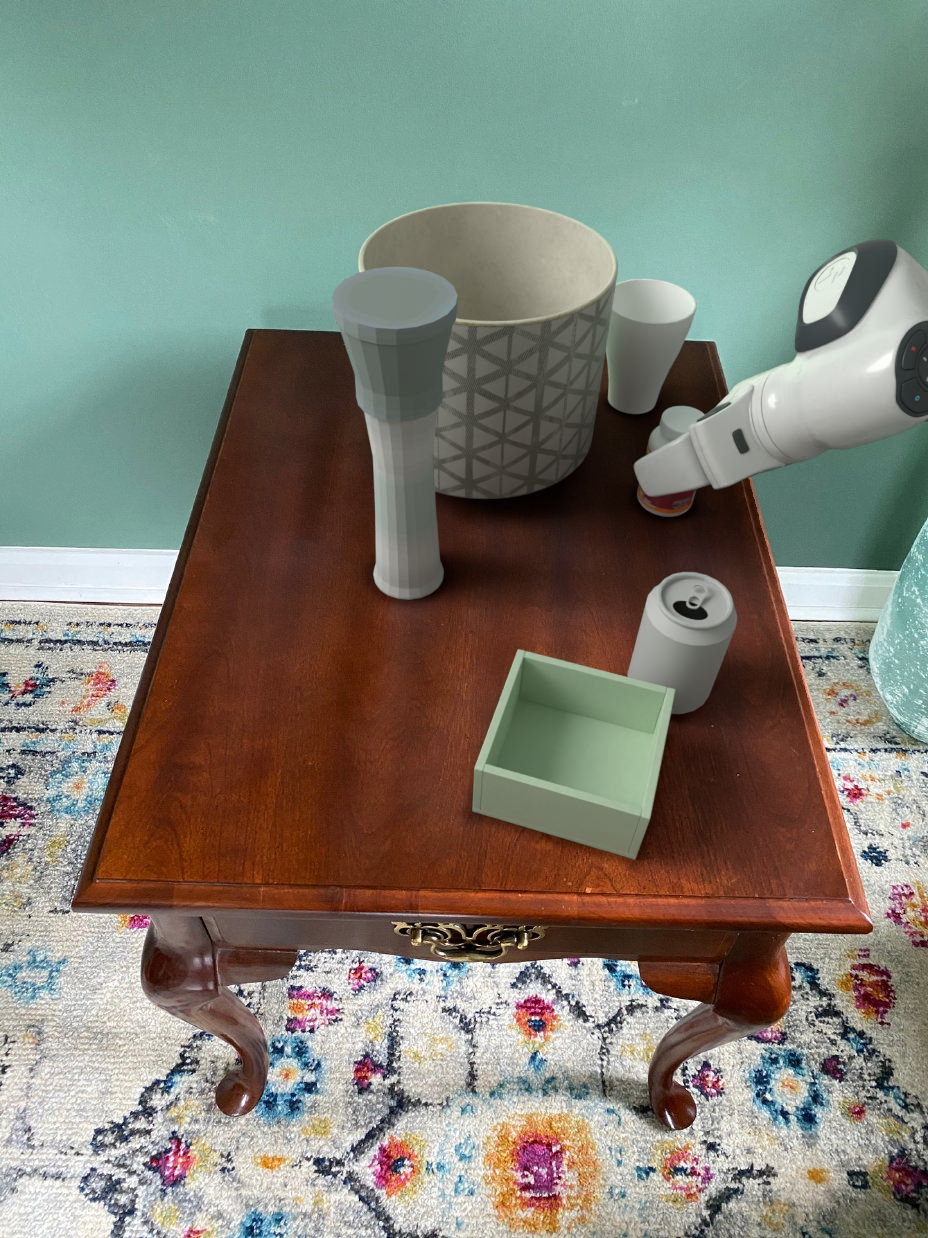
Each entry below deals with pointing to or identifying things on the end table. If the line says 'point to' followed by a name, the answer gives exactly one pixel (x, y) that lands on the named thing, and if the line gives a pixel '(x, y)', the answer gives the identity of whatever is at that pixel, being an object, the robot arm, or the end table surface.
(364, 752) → the end table surface
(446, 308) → the grey tall flared cylinder
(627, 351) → the cup
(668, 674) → the can
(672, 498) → the pill bottle
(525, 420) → the planter
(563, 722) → the bin
